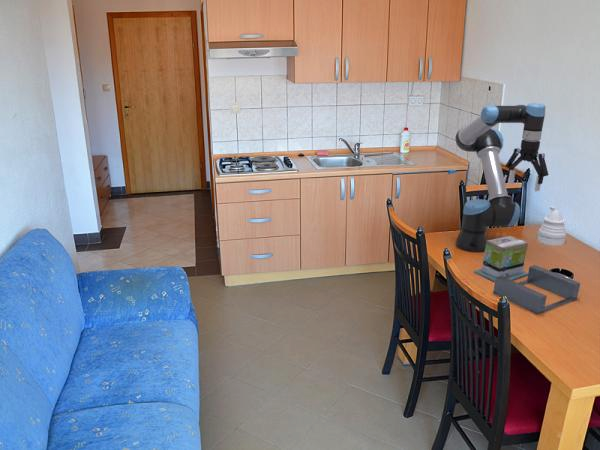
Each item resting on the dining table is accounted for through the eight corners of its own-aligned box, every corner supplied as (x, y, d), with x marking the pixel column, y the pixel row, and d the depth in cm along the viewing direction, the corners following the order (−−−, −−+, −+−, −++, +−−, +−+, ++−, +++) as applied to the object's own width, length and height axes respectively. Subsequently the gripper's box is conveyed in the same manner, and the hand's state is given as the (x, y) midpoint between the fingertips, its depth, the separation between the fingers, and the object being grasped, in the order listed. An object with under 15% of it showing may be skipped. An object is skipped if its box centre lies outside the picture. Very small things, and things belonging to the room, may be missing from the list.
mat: (473, 272, 235) (474, 271, 235) (502, 263, 245) (502, 262, 244) (500, 284, 224) (500, 283, 224) (528, 275, 234) (529, 273, 233)
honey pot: (535, 242, 272) (541, 208, 266) (539, 234, 282) (545, 202, 276) (562, 247, 265) (569, 213, 259) (565, 239, 276) (572, 206, 270)
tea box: (498, 280, 226) (503, 247, 221) (480, 271, 235) (485, 239, 230) (523, 273, 233) (528, 241, 228) (504, 265, 241) (509, 234, 237)
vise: (493, 293, 216) (495, 277, 214) (541, 276, 232) (544, 261, 230) (537, 314, 200) (541, 297, 198) (586, 295, 216) (590, 279, 214)
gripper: (501, 136, 240) (495, 181, 247) (551, 145, 220) (543, 195, 228) (512, 134, 244) (505, 179, 251) (562, 144, 224) (553, 192, 231)
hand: (523, 187), depth 239 cm, fingers open, 13 cm apart
